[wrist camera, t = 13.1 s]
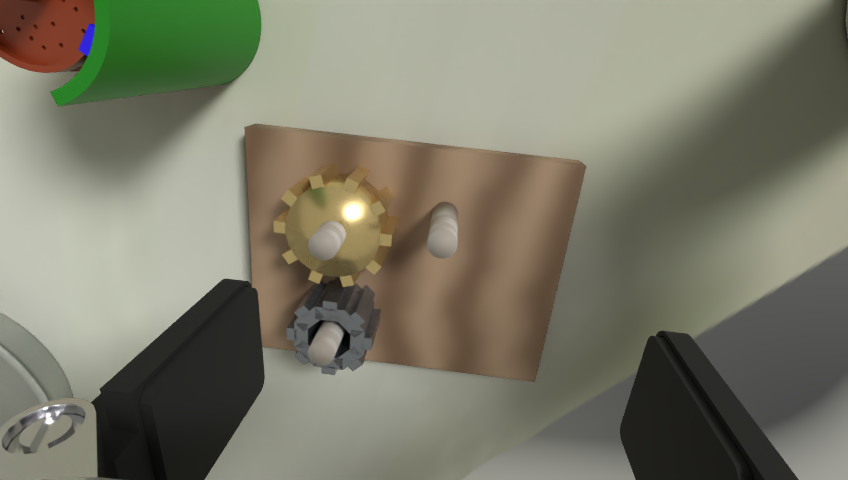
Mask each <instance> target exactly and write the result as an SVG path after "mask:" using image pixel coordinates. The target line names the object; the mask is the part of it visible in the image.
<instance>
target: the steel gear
mask: <svg viewBox="0 0 848 480" xmlns="http://www.w3.org/2000/svg"><path fill="white" fill-rule="evenodd" d="M374 296H375V293H374V292H373V291H372V290H371V289H370V288H369V287H368V286H367V285H366V286H365V287H363V288H361V287H360V286H359V285H358V284H356V283H355V284H354V285H352V286H346V287H343V286H342V283H341V279H340V277H336V278H335V280H334V281H332V280H330V281H329V282H327V283H326V284H325V283H324V282H323V281H322V280H321V282H320V284H318V283H315V284H314V285H312V286H311V288H310V289H309V291H308V292H307V294H306V295H305V297H304V298H303V300H302V302H301V303H300V305H299V306H298V308H297V309H296V311H295V312H294V313H295V316H294V317H293V319H292V320H291V322H290V324H289V325H288V327H287V340H293V341H294V347H295V348H296V349H297V352H296V354H295V357H296V358H297V359H298V360H299V361H300V362H301V363H303V364H304V365H305V364H306V363H307V362H310V363H311V364H312V365H313V366H316V367H322V373H324V374H331V375H335V373H336V371H337V369H339V370H343V369H345V368H346V367H349V368H350V369H351V370H352V371H354V370H355V369H357V368H358V367H360V366H361V365H363V362H364V359H365V356H366V353H367V350H371V349H372V346H373V343H374V339H375V336H376V333H377V330H378V326H379V323H380V318H381V309H374V307H375V302H374V301H373V299H374ZM323 320H327V321H334V322H339V323H340V324H341V325H342V326H343V327H344V328H345V329H346V330H345V333H344V335H343V337H342V340H341V342H340V345H339V347H338V349H337V352H336V354H335V356H334V359H333V361H332V362H331V363H330V364H328V365H318V364H315V363H314V362H312V361H311V360H310V358H309V356H308V349H309V347H310V345H311V343H312V341H313V339H314V338H315V336H316V334H317V332H318V330H319V328H320V326H321V324H322V322H323Z"/></svg>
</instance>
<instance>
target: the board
mask: <svg viewBox="0 0 848 480" xmlns="http://www.w3.org/2000/svg"><path fill="white" fill-rule="evenodd" d="M245 146H246V166H247V187H248V208H249V228H250V249H251V270H252V288H255V289H257V292H258V301H259V313H260V326H261V338H262V347H270V348H277V349H285V350H293V351H297V349H296V348H295V347H294V341H293V340H287V327H288V325H289V324H290V322H291V320H292V319H293V317H294V316H295V313H294V312H295V311H296V309H297V308H298V306H299V305H300V303H301V302H302V300H303V298H304V297H305V295H306V294H307V292H308V291H309V289H310V288H311V286H312V285H314V284H315V282H313V281H311V280H308V279H309V276H310V273H311V271H312V270H311V269H309V268H308V267H306V266H305V265H304V264H302V263H301V262H300V261H299V260H296V261H294V262H292V263H290V264H288V263H287V261H286V260H285V258H284V257H283V256H282V254H283V253H284V252H285V251H286V250H287V249H288V247H289V244H288V241H287V238H286V234H284V233H276V232H274V220H275V219H276V218H277V217H278V216H280V215H281V214H282V213H283V212H284V211H285V210H287V209H288V208H289V207H290V206H289V205H288V204H286V203H285V202H284V201H283V200H282V199H281V198H282V197H283V195H284V194H285V193H286V191H287V190H288V189H290V188H291V187H292V186H294V185H295V184H296V183H297V182H299V181H300V180H301V179H303V178H304V177H305V176H306V177H307V178H308V179H309V177H310V176H311V175H312V174H314V173H315V172H316V171H317V170H319V169H320V168H321V167H323V166H324V165H327V164H332V163H336V166H337V170H338V173H339V174H351V173H352V172H353V171H354V170H355V169H356V168H357V167H358V166H361V167H363V168H366V169H368V170H369V173H368V175H367V178H366V181H367V182H369V183H370V184H371V185H373V186H374V187H375V188H376V189H377V190H378V191H379V190H381V189H383V188H385V187H386V186H388V187H389V189H390V191H391V192H392V194H393V198H392V200H391V202H390V204H389V206H388V208H387V212H388V216H393V217H399V222H398V229H397V232H396V234H395V237H394V240H393V243H392V245H391V246H390V247H389V249H388V252H387V255H386V257H385V260H384V263H383V265H382V267H381V268H380V269H379V270H378V272H377V273H376V274H375V275H374V274H372V273H371V272H370V271H369V270H368V269H366V268H364V269H362V270H361V271H360V274H359V276H358V278H357V280H356V282H355V283H356V284H358V285H359V286H360V287H361V288H363V287H365V286H366V285H367V286H368V287H369V288H370V289H371V290H372V291H373V292H374V293H375V296H374V299H373V301H374V302H375V307H374V309H381V318H380V323H379V326H378V330H377V333H376V336H375V339H374V343H373V346H372V349H371V350H367V353H366V356H365V359H364V360H370V361H378V362H386V363H393V364H401V365H409V366H417V367H424V368H432V369H440V370H448V371H455V372H463V373H471V374H478V375H486V376H494V377H502V378H509V379H517V380H525V381H533V382H535V379H536V375H537V371H538V366H539V362H540V358H541V354H542V350H543V345H544V341H545V337H546V333H547V329H548V324H549V320H550V316H551V312H552V308H553V303H554V299H555V295H556V291H557V287H558V282H559V278H560V274H561V270H562V266H563V261H564V257H565V253H566V249H567V245H568V240H569V236H570V232H571V228H572V224H573V219H574V215H575V211H576V207H577V203H578V198H579V194H580V190H581V186H582V182H583V177H584V173H585V169H586V166H585V165H584V164H583V163H582V162H580V161H577V160H569V159H560V158H551V157H542V156H534V155H525V154H516V153H507V152H498V151H490V150H481V149H472V148H463V147H455V146H446V145H437V144H428V143H420V142H411V141H402V140H393V139H384V138H376V137H367V136H358V135H349V134H341V133H332V132H323V131H314V130H306V129H297V128H288V127H279V126H270V125H262V124H253V125H250V126H247V127H245ZM345 238H346V232H345V229H344V227H343V226H342V225H341V224H340V223H338V222H336V221H326V222H324V223H323V224H322V225H321V226H320V227H319V228H318V230H317V231H316V232H315V233H314V234H313V236H312V237H311V238H310V240H309V242H308V248H309V251H310V253H311V254H312V255H313V256H314V257H315V258H317V259H319V260H329V259H331V258H333V257H334V256H335V255H336V253H337V251H338V250H339V248H340V247H341V245H342V244H343V242H344V240H345ZM335 278H336V277H331V276H326V275H325V276H324V277H323V279H322V281H323V282H324V283H325V284H326V283H327V282H329V281H330V280H332V281H334V280H335ZM345 330H346V329H345V328H344V327H343V326H342V325H341V324H340V323H339V322H334V321H327V320H323V322H322V324H321V326H320V328H319V330H318V332H317V334H316V336H315V338H314V339H313V341H312V343H311V345H310V347H309V349H308V356H309V358H310V360H311V361H312V362H314V363H315V364H318V365H328V364H330V363H331V362H332V361H333V359H334V356H335V354H336V352H337V349H338V347H339V345H340V342H341V340H342V337H343V335H344V333H345Z"/></svg>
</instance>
